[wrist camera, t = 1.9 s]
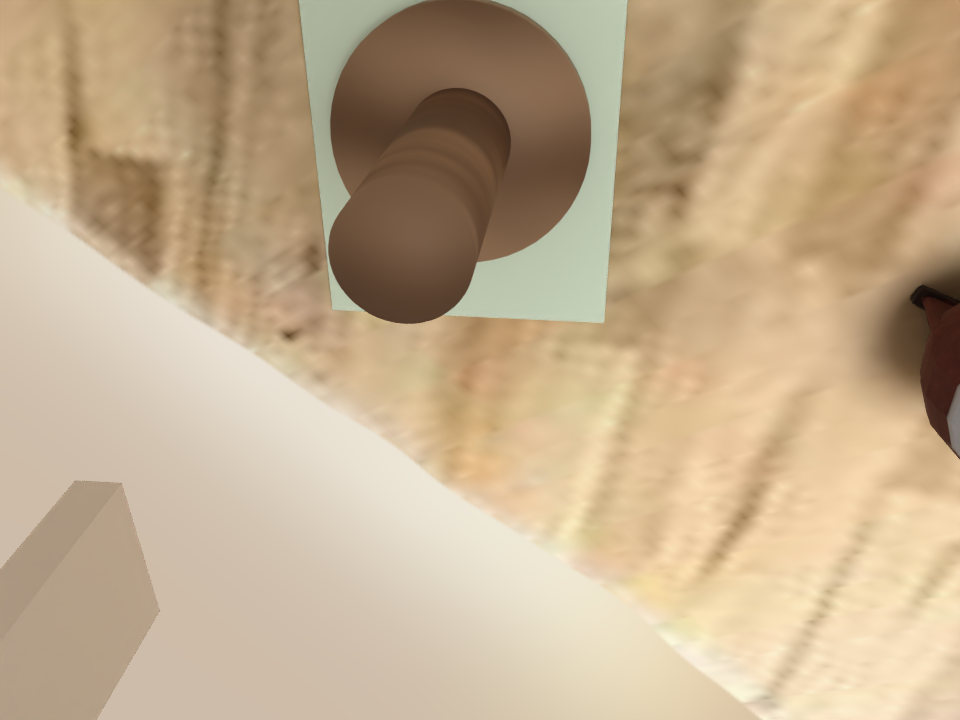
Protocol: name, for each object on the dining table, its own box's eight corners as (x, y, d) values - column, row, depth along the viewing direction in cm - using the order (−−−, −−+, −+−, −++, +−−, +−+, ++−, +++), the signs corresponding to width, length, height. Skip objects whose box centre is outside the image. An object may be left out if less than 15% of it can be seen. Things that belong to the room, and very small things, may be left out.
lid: (324, -5, 31) (189, 62, 21) (599, -3, 30) (599, 68, 20) (348, 248, 36) (249, 402, 26) (584, 257, 35) (577, 422, 25)
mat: (292, -99, 30) (288, -98, 30) (634, -100, 29) (635, -100, 28) (335, 304, 38) (332, 309, 38) (603, 317, 37) (604, 323, 37)
